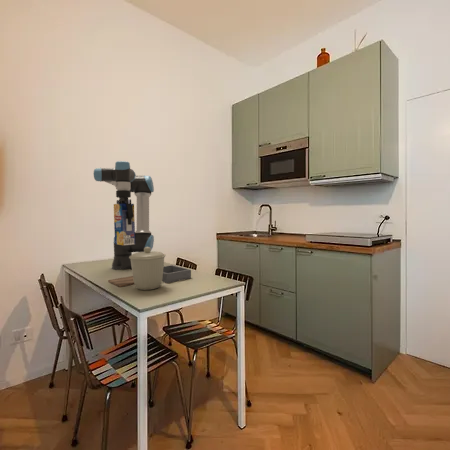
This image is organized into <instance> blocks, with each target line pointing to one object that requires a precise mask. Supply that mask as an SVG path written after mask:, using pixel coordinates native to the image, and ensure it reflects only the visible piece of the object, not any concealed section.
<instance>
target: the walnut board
mask: <svg viewBox="0 0 450 450" xmlns="http://www.w3.org/2000/svg"><path fill="white" fill-rule="evenodd" d="M107 281H108V283H110V284H112V285H114V286H116V287H119V288H123V287H128V286H135V284H134V280H133V275H130V276H125V277H119V278H113V279H109V280H107Z"/></svg>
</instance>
